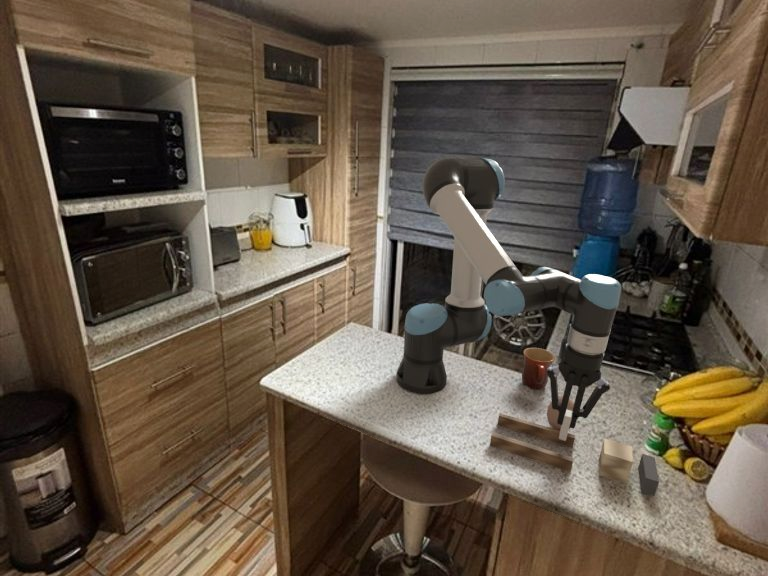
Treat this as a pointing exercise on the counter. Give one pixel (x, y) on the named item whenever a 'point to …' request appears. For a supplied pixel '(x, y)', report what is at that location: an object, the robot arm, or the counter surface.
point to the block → (615, 461)
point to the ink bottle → (564, 343)
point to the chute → (530, 450)
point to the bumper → (648, 475)
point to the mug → (536, 367)
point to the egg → (557, 413)
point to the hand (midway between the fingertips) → (562, 436)
